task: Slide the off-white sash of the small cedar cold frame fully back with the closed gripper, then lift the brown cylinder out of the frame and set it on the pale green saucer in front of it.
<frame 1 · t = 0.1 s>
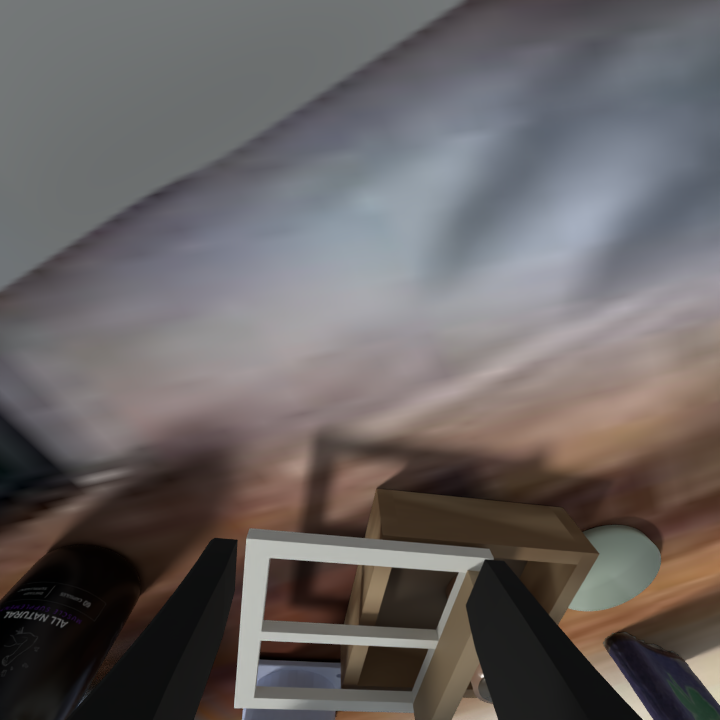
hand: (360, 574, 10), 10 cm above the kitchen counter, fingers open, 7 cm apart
brown cylinder: (475, 589, 25), resting on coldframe
sash: (351, 654, 19), point 5 cm above the kitchen counter, slide at 7.0 cm
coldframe: (443, 576, 25), on the kitchen counter
saucer: (597, 564, 25), on the kitchen counter
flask: (639, 648, 30), on the kitchen counter
supplement bottle: (94, 573, 23), on the kitchen counter
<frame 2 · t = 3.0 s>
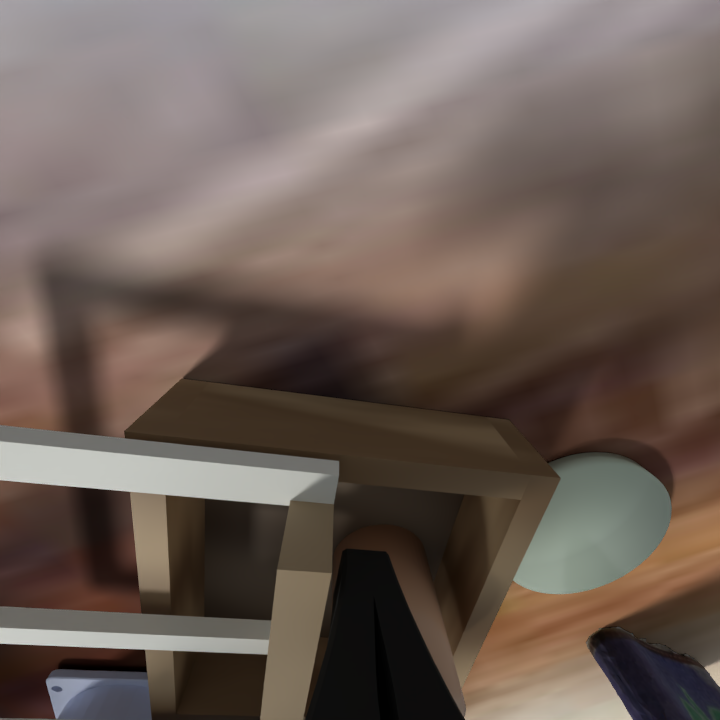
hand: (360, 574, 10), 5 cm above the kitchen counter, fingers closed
brown cylinder: (379, 559, 16), resting on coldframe
sash: (92, 666, 10), point 5 cm above the kitchen counter, slide at 7.1 cm, touching gripper
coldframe: (328, 540, 16), on the kitchen counter
saucer: (572, 520, 16), on the kitchen counter
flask: (639, 650, 21), on the kitchen counter
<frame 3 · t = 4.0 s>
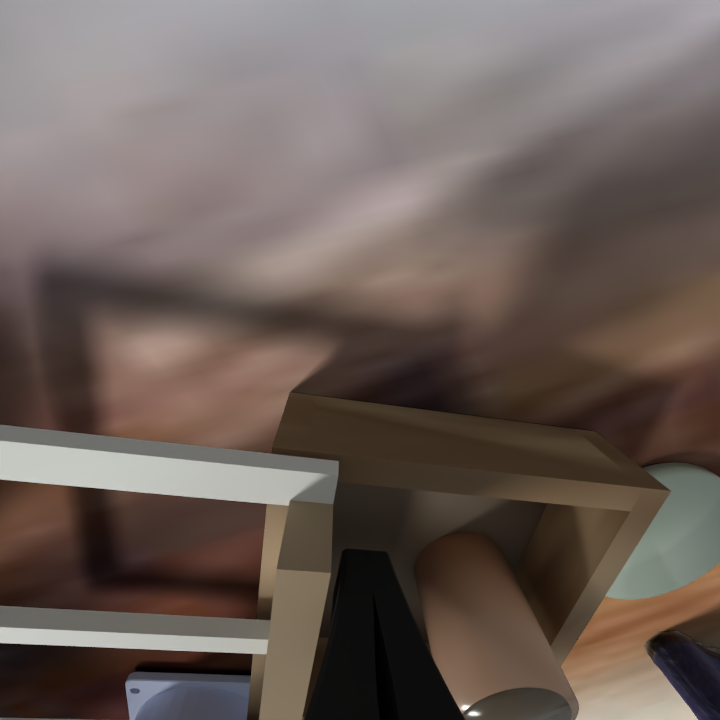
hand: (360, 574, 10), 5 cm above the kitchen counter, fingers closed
brown cylinder: (458, 565, 16), resting on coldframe
sash: (91, 666, 10), point 5 cm above the kitchen counter, slide at 11.1 cm, touching gripper
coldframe: (409, 546, 16), on the kitchen counter
saucer: (644, 528, 16), on the kitchen counter
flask: (693, 653, 21), on the kitchen counter
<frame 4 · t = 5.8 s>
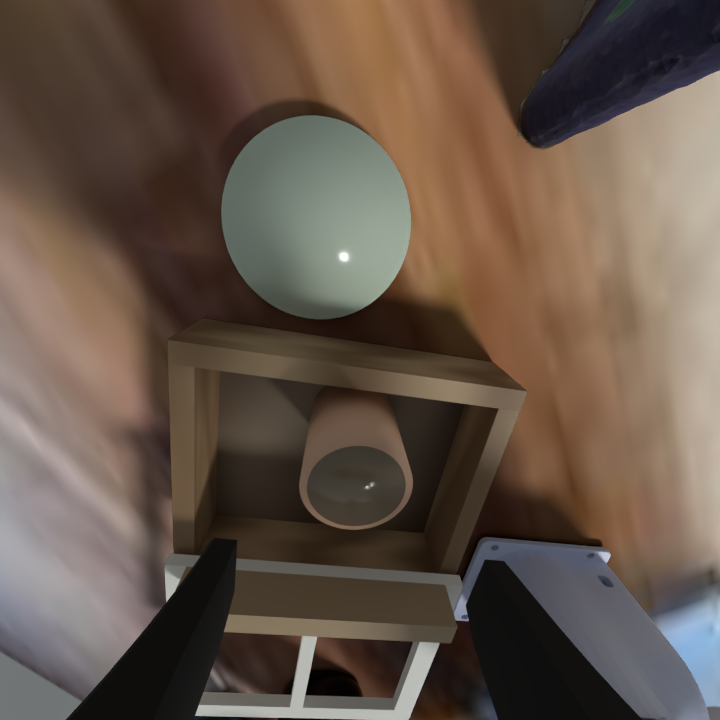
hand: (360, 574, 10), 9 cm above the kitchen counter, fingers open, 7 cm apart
brown cylinder: (352, 414, 18), resting on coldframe
sash: (305, 670, 18), point 5 cm above the kitchen counter, slide at 11.1 cm
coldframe: (336, 447, 19), on the kitchen counter
saucer: (319, 227, 15), on the kitchen counter
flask: (601, 34, 13), on the kitchen counter
supplement bottle: (322, 688, 28), on the kitchen counter
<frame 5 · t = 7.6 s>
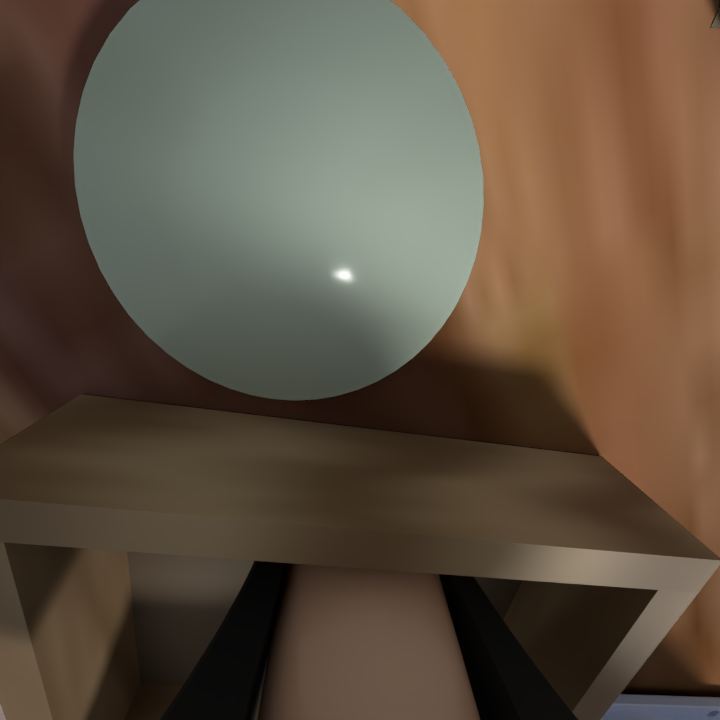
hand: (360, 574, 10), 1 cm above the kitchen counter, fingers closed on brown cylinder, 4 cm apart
brown cylinder: (358, 544, 11), resting on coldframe, touching gripper
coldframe: (332, 584, 12), on the kitchen counter
saucer: (293, 225, 7), on the kitchen counter
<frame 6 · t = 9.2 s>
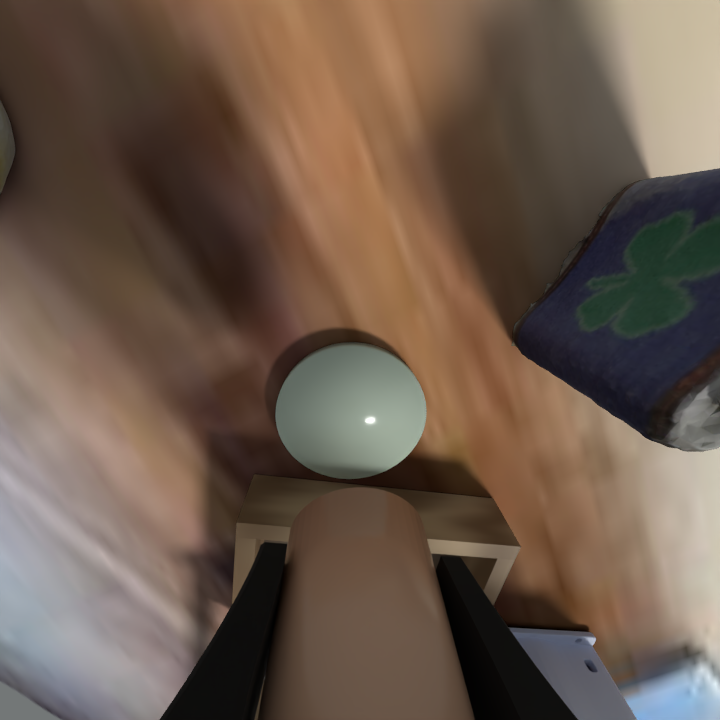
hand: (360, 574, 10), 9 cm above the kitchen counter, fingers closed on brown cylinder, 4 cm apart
brown cylinder: (357, 539, 11), point 8 cm above the kitchen counter, touching gripper
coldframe: (360, 562, 23), on the kitchen counter
saucer: (351, 410, 18), on the kitchen counter
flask: (577, 276, 17), on the kitchen counter
when the fingers open (3 cm above the kitchen counter, at t = 11.2 s): brown cylinder drops 1 cm, resting on saucer.
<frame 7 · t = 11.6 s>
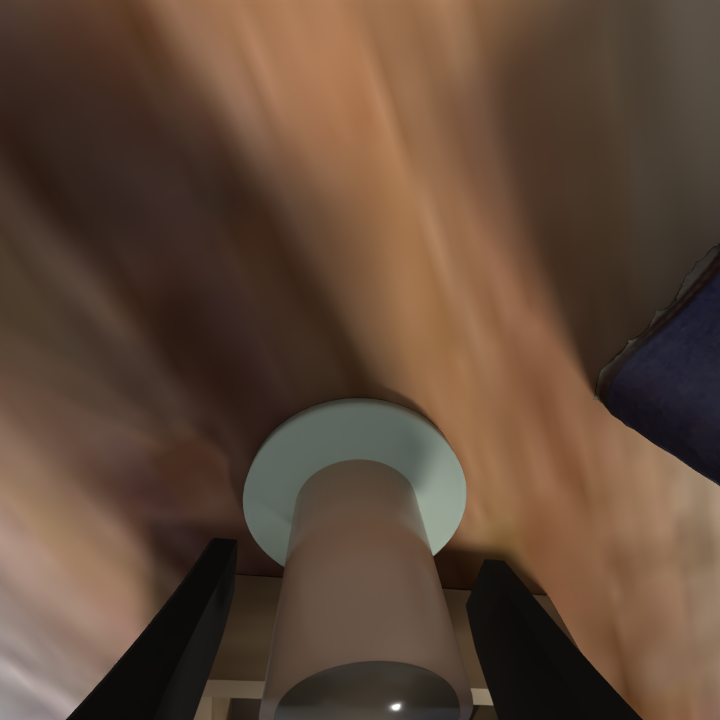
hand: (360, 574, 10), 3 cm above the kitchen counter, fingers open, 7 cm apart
brown cylinder: (356, 509, 12), point 1 cm above the kitchen counter, touching saucer
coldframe: (366, 672, 17), on the kitchen counter
saucer: (355, 491, 13), on the kitchen counter
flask: (700, 299, 11), on the kitchen counter
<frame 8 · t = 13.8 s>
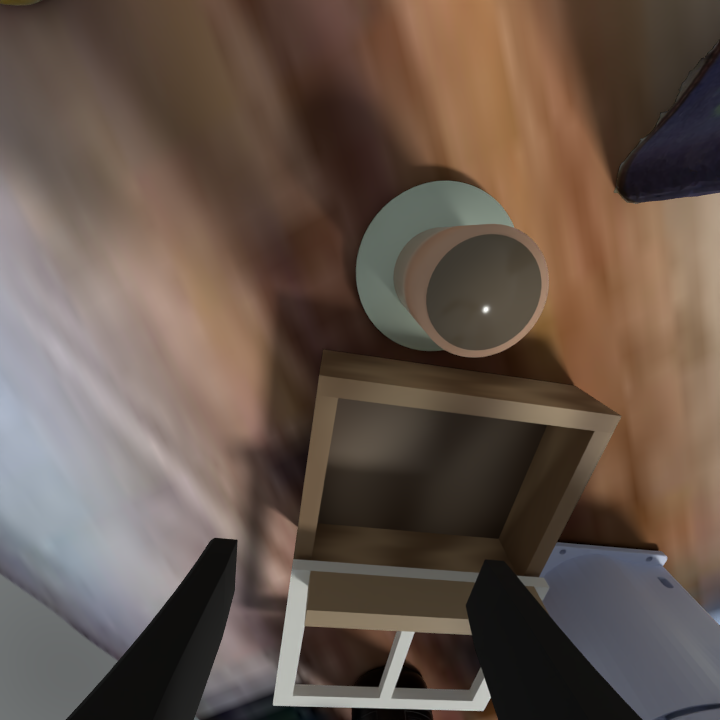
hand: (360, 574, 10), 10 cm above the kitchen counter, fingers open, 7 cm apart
brown cylinder: (438, 275, 16), point 1 cm above the kitchen counter, touching saucer
sash: (403, 664, 20), point 5 cm above the kitchen counter, slide at 11.1 cm
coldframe: (427, 461, 21), on the kitchen counter
saucer: (434, 271, 17), on the kitchen counter
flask: (692, 107, 15), on the kitchen counter
supplement bottle: (388, 683, 30), on the kitchen counter
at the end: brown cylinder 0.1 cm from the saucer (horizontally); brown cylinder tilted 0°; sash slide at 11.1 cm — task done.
